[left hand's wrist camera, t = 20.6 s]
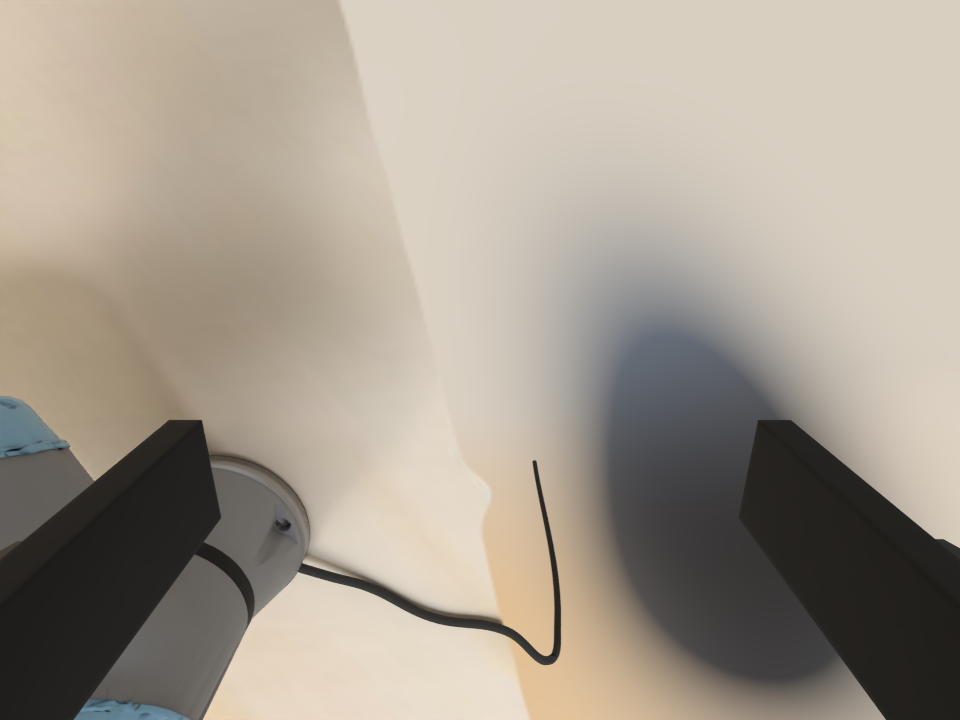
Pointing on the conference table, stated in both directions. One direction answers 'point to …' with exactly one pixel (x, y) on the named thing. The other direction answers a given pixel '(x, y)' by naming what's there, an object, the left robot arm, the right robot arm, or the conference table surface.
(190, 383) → the conference table surface
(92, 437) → the conference table surface
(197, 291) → the conference table surface
